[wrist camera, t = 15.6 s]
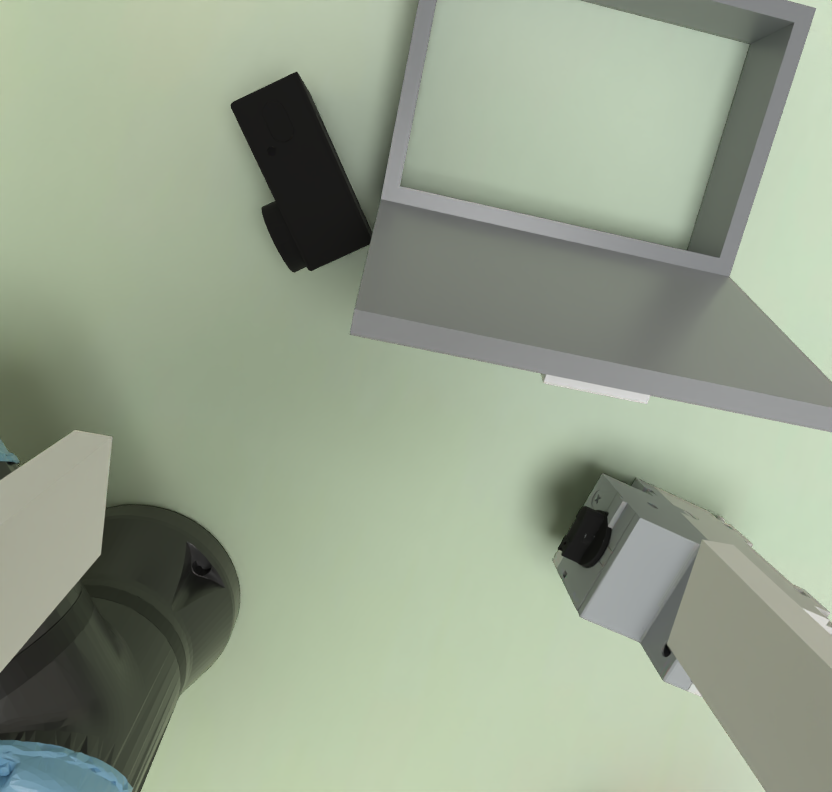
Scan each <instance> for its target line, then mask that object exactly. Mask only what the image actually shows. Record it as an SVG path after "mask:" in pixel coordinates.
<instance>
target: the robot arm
mask: <svg viewBox="0 0 832 792" xmlns="http://www.w3.org/2000/svg"><path fill="white" fill-rule="evenodd" d="M112 438H113V436H107V435H101V434H96V433H90V432H84V431H78V430H74V431H73V432H71V433H70V434H68V435H67V436H65V437H64V438H62V439H61V440H59V441H58V442H56V443H55V444H53V445H52V446H50V447H49V448H47V449H46V450H44V451H43V452H41V453H40V454H38V455H37V456H36V457H34V458H33V459H31V460H30V461H28V462H27V463H25V464H24V465H22V466H21V467H18V465H17V464H18V463H20V461H19V460H18V458H17V456H16V455H14V454H13V453H10V452H9V451H8V450H7V448H6V447H5V445H4V444H3V442H2V440H1V439H0V792H140V791H141V789H142V786H143V784H144V782H145V779H146V777H147V774H148V772H149V769H150V767H151V764H152V762H153V759H154V757H155V755H156V752H157V750H158V747H159V745H160V742H161V740H162V737H163V735H164V733H165V730H166V728H167V725H168V723H169V720H170V718H171V715H172V713H173V710H174V708H175V706H176V703H177V701H178V698H179V696H180V695H181V694H182V693H183V692H184V691H185V690H186V689H187V688H188V687H189V686H190V685H191V684H193V683H194V682H195V681H196V680H197V679H198V678H199V677H200V676H201V675H202V674H203V673H204V672H205V671H207V670H208V669H209V668H210V667H211V666H212V665H213V664H214V662H215V661H216V660H217V659H218V657H219V656H220V655H221V653H222V652H223V650H224V648H225V647H226V645H227V643H228V641H229V638H230V636H231V633H232V631H233V628H234V625H235V623H236V620H237V616H238V612H239V605H240V589H239V583H238V578H237V575H236V571H235V569H234V566H233V564H232V562H231V560H230V558H229V557H228V555H227V553H226V552H225V550H224V549H223V547H222V546H221V545H220V544H219V543H218V541H217V540H216V539H215V538H214V537H213V536H212V535H211V534H210V533H209V532H207V531H206V530H205V529H204V528H202V527H201V526H200V525H198V524H197V523H195V522H193V521H192V520H190V519H188V518H186V517H184V516H182V515H180V514H177V513H175V512H172V511H169V510H166V509H162V508H158V507H153V506H145V505H124V506H116V507H111V508H107V509H105V508H106V498H107V488H108V478H109V468H110V458H111V448H112ZM667 645H668V646H669V648H670V649H671V651H672V652H673V654H674V655H675V657H676V658H677V660H678V661H679V663H680V664H681V666H682V667H683V669H684V670H685V672H686V673H687V675H688V676H689V678H690V679H691V681H692V682H693V684H694V685H695V687H696V688H697V690H698V691H699V693H700V694H701V696H702V697H703V699H704V700H705V702H706V703H707V705H708V706H709V708H710V709H711V711H712V712H713V714H714V715H715V716H716V718H717V719H718V721H719V722H720V724H721V725H722V727H723V728H724V730H725V731H726V733H727V734H728V736H729V737H730V739H731V740H732V742H733V743H734V745H735V746H736V748H737V749H738V751H739V752H740V754H741V755H742V757H743V758H744V760H745V761H746V763H747V764H748V766H749V767H750V769H751V770H752V772H753V773H754V775H755V776H756V778H757V779H758V781H759V782H760V784H761V785H762V787H763V788H764V790H765V791H766V792H832V635H831V634H829V633H828V632H827V631H826V630H825V629H824V628H823V627H822V626H821V625H820V624H819V623H818V622H816V621H815V620H814V619H813V618H812V617H811V616H810V615H809V614H808V613H807V612H806V611H805V610H803V609H802V608H801V607H800V606H799V605H798V604H797V603H796V602H795V601H794V600H793V599H792V598H790V597H789V596H788V595H787V594H786V593H785V592H784V591H783V590H782V589H781V588H780V587H779V586H777V585H776V584H775V583H774V582H773V581H772V580H771V579H770V578H769V577H768V576H767V575H766V574H765V573H763V572H762V571H761V570H760V569H759V568H758V567H757V566H756V565H755V564H754V563H753V562H752V561H750V560H749V559H748V558H747V557H746V556H745V555H744V554H743V553H742V552H741V551H740V550H739V549H737V548H736V547H735V546H734V545H731V544H725V543H720V542H714V541H708V540H703V539H702V541H701V544H700V547H699V550H698V553H697V556H696V559H695V562H694V565H693V568H692V571H691V574H690V577H689V580H688V583H687V586H686V589H685V592H684V595H683V598H682V601H681V604H680V607H679V609H678V612H677V615H676V618H675V621H674V624H673V627H672V630H671V633H670V636H669V639H668V642H667Z"/></svg>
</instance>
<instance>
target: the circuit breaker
mask: <svg viewBox="0 0 832 792" xmlns="http://www.w3.org/2000/svg"><path fill="white" fill-rule="evenodd" d="M724 520H725V519H724V518H723V517H720V516H717V518H716V517H715V516H714V515H712V514H711V513H710V512H709V511H707V510H705V509H703V508H701V507H699V506H697V505H694V504H692V503H690V502H688V501H686V500H683V499H681V498H679V497H677V496H675V495H673V494H670V493H668V492H666V491H664V490H662V489H660V488H657V487H655V486H653V485H651V484H649V483H646V482H644V481H642V480H640V479H638V478H636V479H635V480H634V482H633V484H632V485H631V486H630V485H628V484H625V483H623V482H621V481H619V480H617V479H614V478H612V477H610V476H608V475H606V474H603V473H602V474H601V476H600V478H599V480H598V481H597V483H596V485H595V486H594V488H593V490H592V492H591V493H590V495H589V497H588V499H587V500H586V502H585V504H584V506H583V507H582V508H581V509H580V511H579V512H578V514H577V516H576V520H575V521H574V523H573V525H572V526H571V528H570V530H569V532H568V533H567V535H565V537H564V538H563V540H562V542H561V544H560V545H559V547H558V551H557V552H556V554H555V556H554V558H553V559H552V561H553V563H554V565H555V567H556V569H557V571H558V573H559V575H560V577H561V579H562V581H563V583H564V585H565V587H566V589H567V591H568V594H569V596H570V598H571V600H572V602H573V604H574V606H575V608H576V610H577V611H578V613H579V616H580V617H581V618H583V619H585V620H588V621H590V622H593V623H595V624H597V625H600V626H602V627H604V628H607V629H609V630H612V631H614V632H616V633H619V634H621V635H623V636H626V637H628V638H631V639H633V640H635V641H638V642H639V643H640V644H641V645H642V647H643V649H644V650H645V652H646V653H647V655H648V657H649V658H650V660H651V662H652V663H653V665H654V667H655V668H656V670H657V672H658V673H659V675H660V677H661V678H662V680H663V681H664V682H666V683H669V684H671V685H674V686H676V687H679V688H681V689H683V690H686V691H688V692H691V693H693V694H696V695H698V696H700V697H702V696H701V694H700V693H699V691H698V690H697V688H696V687H695V685H694V684H693V682H692V681H691V679H690V678H689V676H688V675H687V673H686V672H685V670H684V669H683V667H682V666H681V664H680V663H679V661H678V660H677V658H676V657H675V655H674V654H673V652H672V651H671V649H670V648H669V646H668V645H667V642H668V639H669V636H670V633H671V630H672V627H673V624H674V621H675V618H676V615H677V612H678V609H679V607H680V604H681V601H682V598H683V595H684V592H685V589H686V586H687V583H688V580H689V577H690V574H691V571H692V568H693V565H694V562H695V559H696V556H697V553H698V550H699V547H700V544H701V541H702V539H703V540H708V541H714V542H720V543H725V544H731V545H734V546H735V547H736V548H737V549H739V550H740V551H741V552H742V553H743V554H744V555H745V556H746V557H747V558H748V559H749V560H750V561H752V562H753V563H754V564H755V565H756V566H757V567H758V568H759V569H760V570H761V571H762V572H763V573H765V574H766V575H767V576H768V577H769V578H770V579H771V580H772V581H773V582H774V583H775V584H776V585H777V586H779V587H780V588H781V589H782V590H783V591H784V592H785V593H786V594H787V595H788V596H789V597H790V598H792V599H793V600H794V601H795V602H796V603H797V604H798V605H799V606H800V607H801V608H802V609H803V610H805V611H806V612H807V613H808V614H809V615H810V616H811V617H812V618H813V619H814V620H815V621H816V622H818V623H819V624H820V625H821V626H822V627H823V628H824V629H825V630H826V631H827V632H828V633H829V634H831V635H832V623H831V622H830V621H829V619H828V618H827V617H828V615H829V614H830V612H829V611H828V610H827V609H826V608H825V607H824V606H822V605H821V604H820V603H819V602H818V601H817V600H816V599H814V598H813V597H812V596H811V595H810V594H809V593H808V592H807V591H805V590H804V589H802V588H800V587H798V586H795V585H793V584H792V583H791V582H790V581H788V580H787V579H786V578H785V577H784V576H783V575H782V574H781V573H779V572H778V571H777V570H776V569H775V568H774V567H773V566H772V565H771V564H769V563H768V562H767V561H766V560H765V559H764V558H763V557H762V556H760V555H759V554H758V553H757V552H756V551H755V550H754V549H753V548H752V546H753V544H752V543H751V542H750V541H749V540H748V539H746V538H745V537H744V536H743V535H742V534H741V533H740V532H739V531H737V530H736V529H735V528H734V527H733V526H731V525H729V524H727V523H725V522H724Z"/></svg>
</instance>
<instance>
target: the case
mask: <svg viewBox="0 0 832 792" xmlns="http://www.w3.org/2000/svg"><path fill="white" fill-rule="evenodd" d="M436 1H437V0H419V3H418V8H417V13H416V18H415V23H414V29H413V34H412V39H411V44H410V49H409V55H408V60H407V65H406V70H405V75H404V81H403V86H402V91H401V96H400V101H399V107H398V112H397V117H396V122H395V127H394V133H393V138H392V143H391V148H390V153H389V159H388V164H387V169H386V174H385V179H384V185H383V190H382V195H381V199H383V200H387V201H392V202H396V203H401V204H405V205H410V206H414V207H419V208H423V209H428V210H432V211H437V212H441V213H446V214H450V215H455V216H459V217H464V218H468V219H473V220H477V221H482V222H486V223H491V224H495V225H500V226H504V227H509V228H513V229H518V230H522V231H526V232H531V233H535V234H540V235H544V236H549V237H553V238H558V239H562V240H567V241H571V242H576V243H580V244H585V245H589V246H594V247H598V248H603V249H607V250H612V251H616V252H621V253H625V254H630V255H634V256H639V257H643V258H648V259H652V260H657V261H661V262H666V263H670V264H675V265H679V266H684V267H688V268H693V269H697V270H702V271H706V272H710V273H715V274H719V275H724V276H728V277H729V276H730V273H731V270H732V267H733V264H734V260H735V257H736V254H737V251H738V248H739V245H740V242H741V239H742V236H743V233H744V230H745V226H746V223H747V220H748V217H749V214H750V211H751V208H752V205H753V202H754V199H755V196H756V193H757V189H758V186H759V183H760V180H761V177H762V174H763V171H764V168H765V165H766V162H767V159H768V155H769V152H770V149H771V146H772V143H773V140H774V137H775V134H776V131H777V128H778V125H779V121H780V118H781V115H782V112H783V109H784V106H785V103H786V100H787V97H788V94H789V91H790V87H791V84H792V81H793V78H794V75H795V72H796V69H797V66H798V63H799V60H800V57H801V53H802V50H803V47H804V44H805V41H806V38H807V35H808V32H809V29H810V26H811V23H812V19H813V16H814V13H815V10H816V8H813V7H809V6H806V5H802V4H798V3H794V2H791V1H787V0H582V1H586V2H590V3H593V4H597V5H601V6H605V7H609V8H613V9H617V10H621V11H624V12H628V13H632V14H636V15H640V16H644V17H648V18H651V19H655V20H659V21H663V22H667V23H671V24H675V25H679V26H682V27H686V28H690V29H694V30H698V31H702V32H706V33H710V34H713V35H717V36H721V37H725V38H729V39H733V40H737V41H740V42H744V43H748V44H750V47H749V50H748V53H747V56H746V60H745V63H744V66H743V69H742V73H741V76H740V79H739V83H738V86H737V89H736V92H735V96H734V99H733V102H732V105H731V109H730V112H729V115H728V119H727V122H726V125H725V128H724V132H723V135H722V138H721V141H720V145H719V148H718V151H717V155H716V158H715V161H714V164H713V168H712V171H711V174H710V177H709V181H708V184H707V187H706V191H705V194H704V197H703V200H702V204H701V207H700V210H699V213H698V217H697V220H696V223H695V227H694V230H693V233H692V236H691V240H690V243H689V246H688V249H687V251H686V250H682V249H677V248H673V247H669V246H664V245H660V244H655V243H651V242H646V241H642V240H637V239H633V238H629V237H624V236H620V235H615V234H611V233H606V232H602V231H598V230H593V229H589V228H584V227H580V226H575V225H571V224H566V223H562V222H558V221H553V220H549V219H544V218H540V217H535V216H531V215H526V214H522V213H518V212H513V211H509V210H504V209H500V208H495V207H491V206H487V205H482V204H478V203H473V202H469V201H464V200H460V199H455V198H451V197H447V196H442V195H438V194H433V193H429V192H424V191H420V190H416V189H411V188H407V187H402V186H400V183H401V178H402V173H403V168H404V163H405V158H406V153H407V148H408V143H409V138H410V133H411V128H412V123H413V118H414V112H415V107H416V102H417V97H418V92H419V87H420V82H421V77H422V72H423V67H424V62H425V57H426V52H427V47H428V42H429V37H430V32H431V27H432V22H433V17H434V12H435V6H436Z"/></svg>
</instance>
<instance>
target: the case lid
mask: <svg viewBox="0 0 832 792" xmlns="http://www.w3.org/2000/svg"><path fill="white" fill-rule="evenodd" d="M350 335H354V336H359V337H364V338H369V339H374V340H379V341H384V342H389V343H394V344H399V345H404V346H409V347H414V348H419V349H424V350H429V351H433V352H438V353H443V354H448V355H453V356H458V357H463V358H468V359H473V360H478V361H483V362H488V363H493V364H498V365H503V366H507V367H512V368H517V369H522V370H527V371H532V372H537V373H541V376H542V380H543V383H545V384H550V385H555V386H560V387H565V388H570V389H575V390H580V391H585V392H590V393H595V394H600V395H605V396H610V397H615V398H620V399H625V400H630V401H635V402H640V403H645V404H647V403H648V401H649V398H650V396H656V397H660V398H665V399H670V400H675V401H680V402H685V403H690V404H695V405H700V406H705V407H710V408H715V409H720V410H725V411H730V412H735V413H739V414H744V415H749V416H754V417H759V418H764V419H769V420H774V421H779V422H784V423H789V424H794V425H799V426H804V427H809V428H813V429H818V430H823V431H828V432H832V382H831V381H830V380H829V379H828V378H827V377H826V376H825V375H824V374H823V373H822V371H821V370H820V369H819V368H818V367H817V366H816V365H815V364H814V363H813V362H812V361H811V360H810V359H809V358H808V357H807V356H806V355H805V354H804V353H803V352H802V351H801V350H800V349H799V348H798V347H797V346H796V345H795V344H794V343H793V342H792V341H791V340H790V339H789V338H788V337H787V336H786V334H785V333H784V332H783V331H782V330H781V329H780V328H779V327H778V326H777V325H776V324H775V323H774V322H773V321H772V320H771V319H770V318H769V317H768V316H767V315H766V314H765V313H764V312H763V311H762V310H761V309H760V308H759V307H758V306H757V305H756V304H755V303H754V302H753V301H752V300H751V299H750V297H749V296H748V295H747V294H746V293H745V292H744V291H743V290H742V289H741V288H740V287H739V286H738V285H737V284H736V283H735V282H734V281H733V280H732V279H731V278H730V277H728V276H724V275H719V274H715V273H710V272H706V271H702V270H697V269H693V268H688V267H684V266H679V265H675V264H670V263H666V262H661V261H657V260H652V259H648V258H643V257H639V256H634V255H630V254H625V253H621V252H616V251H612V250H607V249H603V248H598V247H594V246H589V245H585V244H580V243H576V242H571V241H567V240H562V239H558V238H553V237H549V236H544V235H540V234H535V233H531V232H526V231H522V230H518V229H513V228H509V227H504V226H500V225H495V224H491V223H486V222H482V221H477V220H473V219H468V218H464V217H459V216H455V215H450V214H446V213H441V212H437V211H432V210H428V209H423V208H419V207H414V206H410V205H405V204H401V203H396V202H392V201H387V200H383V199H381V200H380V204H379V208H378V213H377V217H376V221H375V225H374V229H373V233H372V238H371V242H370V246H369V250H368V254H367V259H366V263H365V267H364V271H363V275H362V280H361V284H360V288H359V292H358V296H357V300H356V305H355V309H354V314H353V320H352V325H351V331H350Z"/></svg>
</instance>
